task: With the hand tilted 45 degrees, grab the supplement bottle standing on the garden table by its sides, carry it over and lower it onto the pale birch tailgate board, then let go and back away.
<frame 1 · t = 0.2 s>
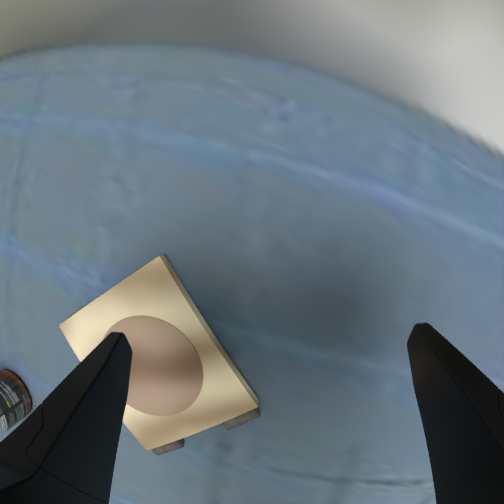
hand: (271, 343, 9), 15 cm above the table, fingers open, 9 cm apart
supplement bottle: (16, 391, 26), on the table
tailgate board: (153, 363, 25), on the table
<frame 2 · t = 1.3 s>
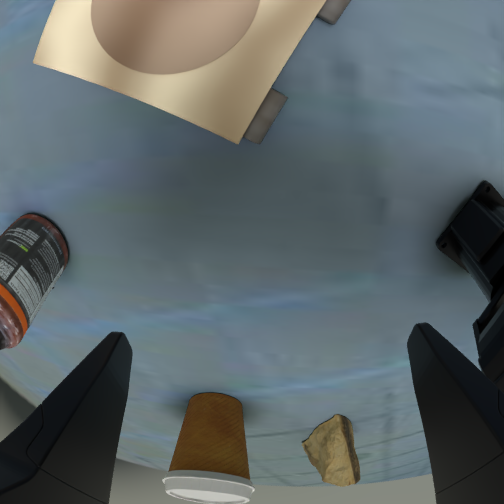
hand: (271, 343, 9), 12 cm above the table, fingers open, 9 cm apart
supplement bottle: (43, 241, 22), on the table
rock: (323, 429, 40), on the table
disposable coffee cup: (215, 403, 35), on the table
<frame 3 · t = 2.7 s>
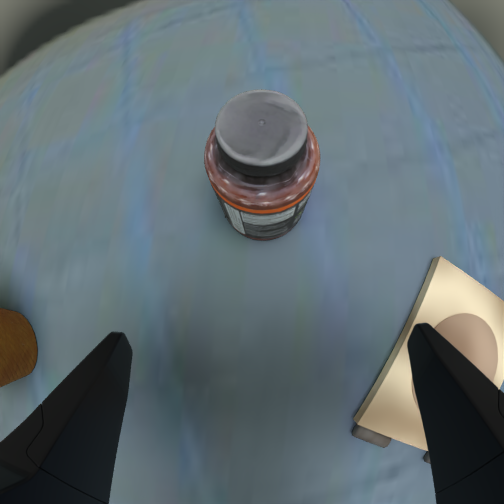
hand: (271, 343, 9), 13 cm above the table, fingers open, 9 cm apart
supplement bottle: (263, 204, 24), on the table
tailgate board: (451, 367, 21), on the table
disposable coffee cup: (16, 344, 23), on the table
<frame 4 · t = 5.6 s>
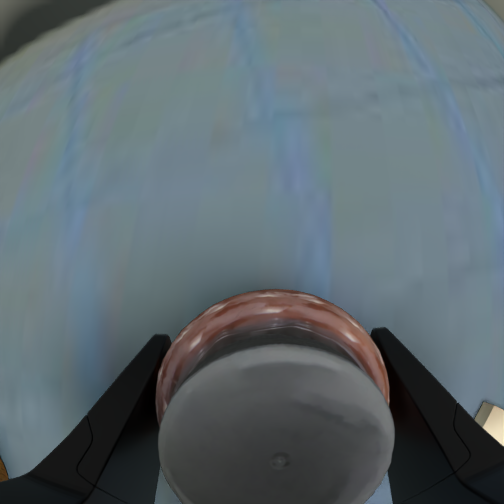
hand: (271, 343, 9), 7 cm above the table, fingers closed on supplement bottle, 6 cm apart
supplement bottle: (268, 355, 15), on the table, touching gripper
tailgate board: (475, 503, 12), on the table
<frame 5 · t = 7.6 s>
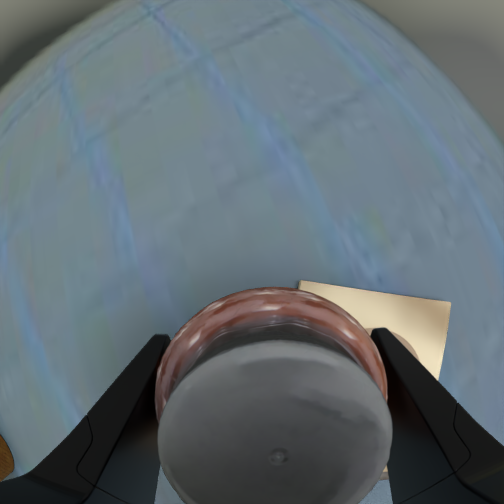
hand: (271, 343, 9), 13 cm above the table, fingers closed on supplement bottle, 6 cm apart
supplement bottle: (267, 354, 16), point 6 cm above the table, touching gripper
tailgate board: (361, 386, 21), on the table
when the fingers open (9 cm above the table, at t = 9.6 s): supplement bottle stays where it is, resting on tailgate board.
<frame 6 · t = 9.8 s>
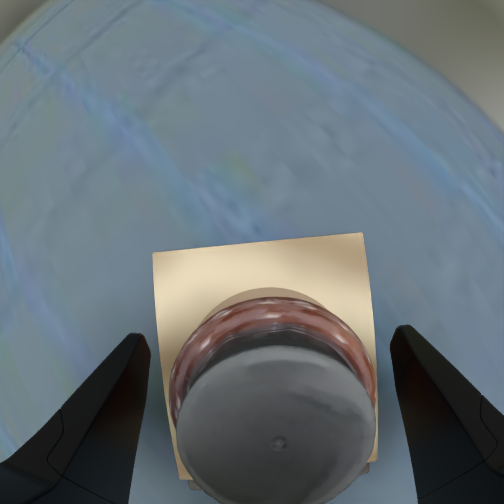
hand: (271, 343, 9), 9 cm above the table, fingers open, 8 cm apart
supplement bottle: (268, 355, 16), point 1 cm above the table, touching tailgate board
tailgate board: (269, 366, 17), on the table
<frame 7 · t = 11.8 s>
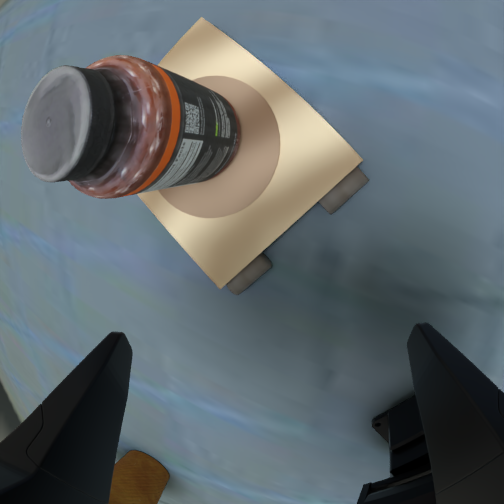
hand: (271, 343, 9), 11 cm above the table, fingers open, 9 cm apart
supplement bottle: (199, 136, 19), point 1 cm above the table, touching tailgate board
tailgate board: (215, 146, 20), on the table
disposable coffee cup: (149, 465, 33), on the table
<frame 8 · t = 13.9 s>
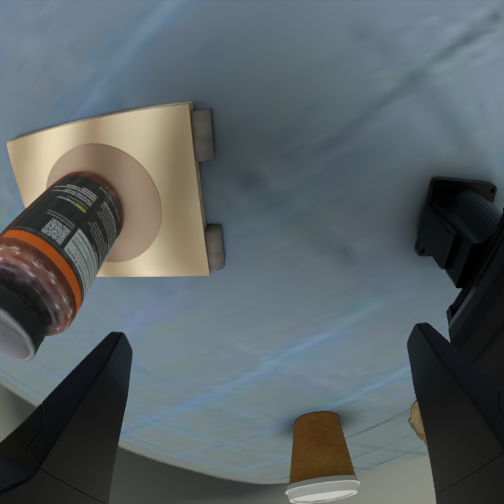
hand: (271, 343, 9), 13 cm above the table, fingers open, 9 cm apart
supplement bottle: (89, 207, 20), point 1 cm above the table, touching tailgate board
rock: (420, 406, 40), on the table
tailgate board: (106, 199, 21), on the table
disposable coffee cup: (316, 419, 40), on the table
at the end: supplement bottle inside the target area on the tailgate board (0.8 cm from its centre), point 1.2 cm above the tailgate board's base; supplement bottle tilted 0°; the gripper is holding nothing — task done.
